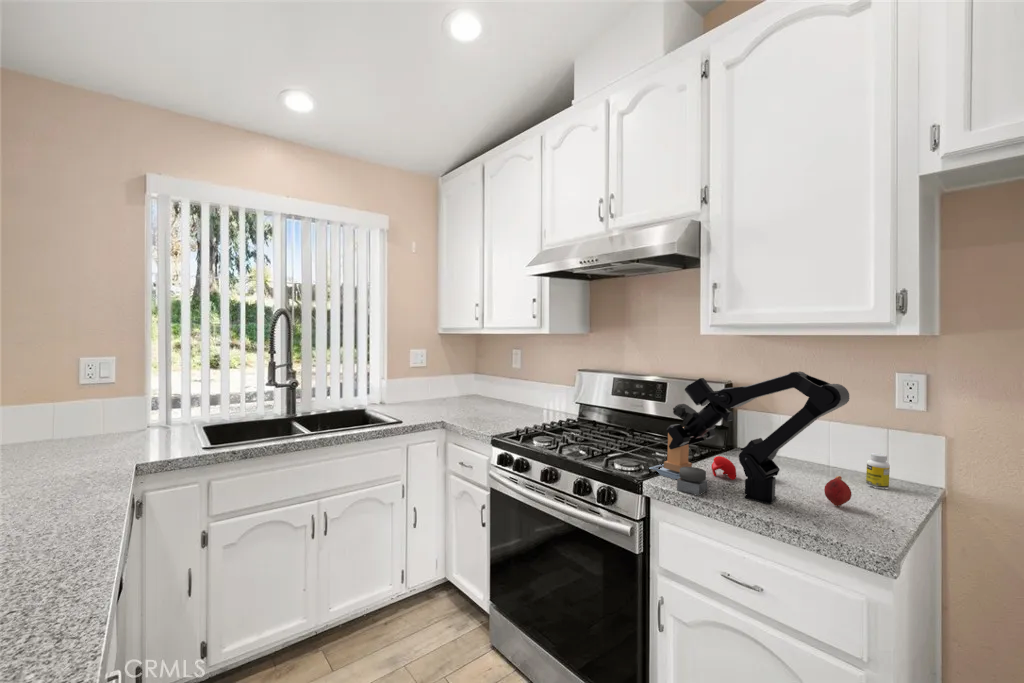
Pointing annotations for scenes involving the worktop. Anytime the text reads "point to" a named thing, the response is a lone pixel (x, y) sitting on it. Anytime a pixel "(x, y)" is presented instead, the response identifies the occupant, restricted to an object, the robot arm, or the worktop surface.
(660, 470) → the tray
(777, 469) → the robot arm
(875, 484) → the supplement bottle
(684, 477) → the wheel
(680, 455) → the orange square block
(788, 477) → the worktop surface
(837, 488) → the onion
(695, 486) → the axle mount
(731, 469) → the cap
